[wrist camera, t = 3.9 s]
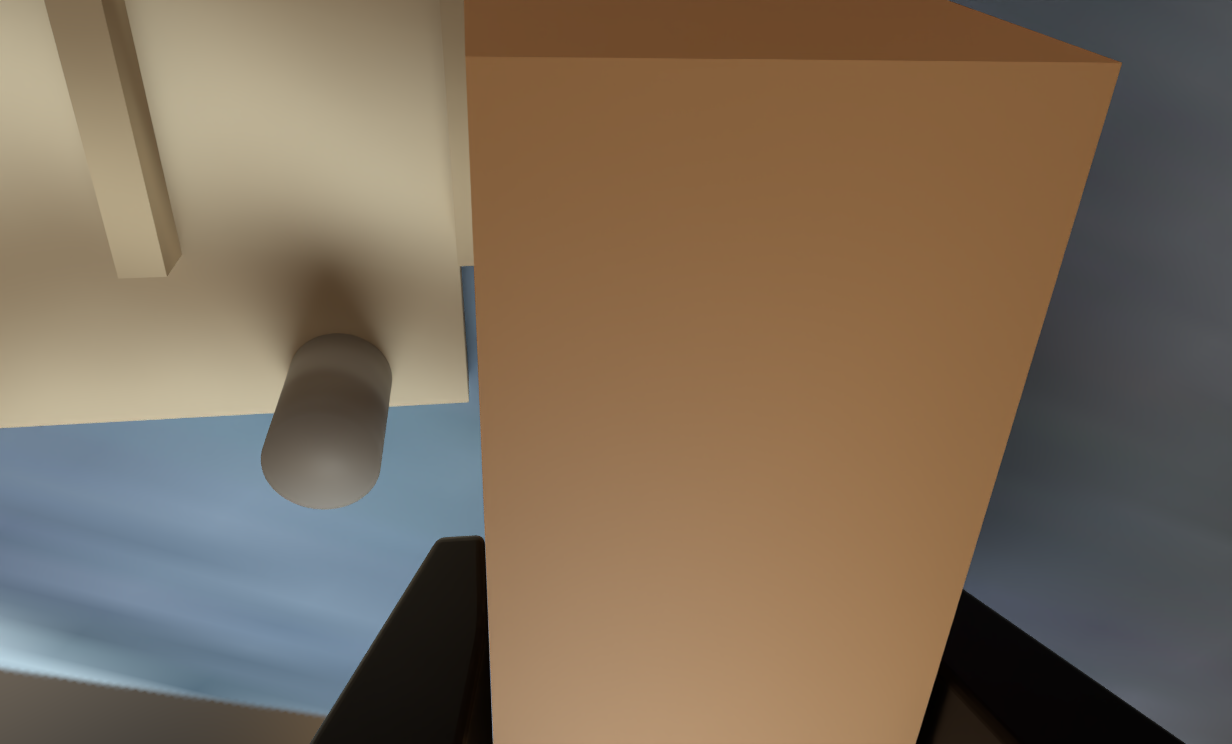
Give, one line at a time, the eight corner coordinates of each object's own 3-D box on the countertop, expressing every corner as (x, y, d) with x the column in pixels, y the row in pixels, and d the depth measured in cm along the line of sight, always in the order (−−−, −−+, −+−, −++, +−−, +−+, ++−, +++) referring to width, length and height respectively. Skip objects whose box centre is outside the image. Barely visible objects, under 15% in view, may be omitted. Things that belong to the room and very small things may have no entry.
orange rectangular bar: (725, 783, 12) (810, 1090, 9) (497, 808, 12) (509, 1137, 9) (849, -35, 7) (1122, 62, 4) (463, -45, 7) (464, 56, 4)
